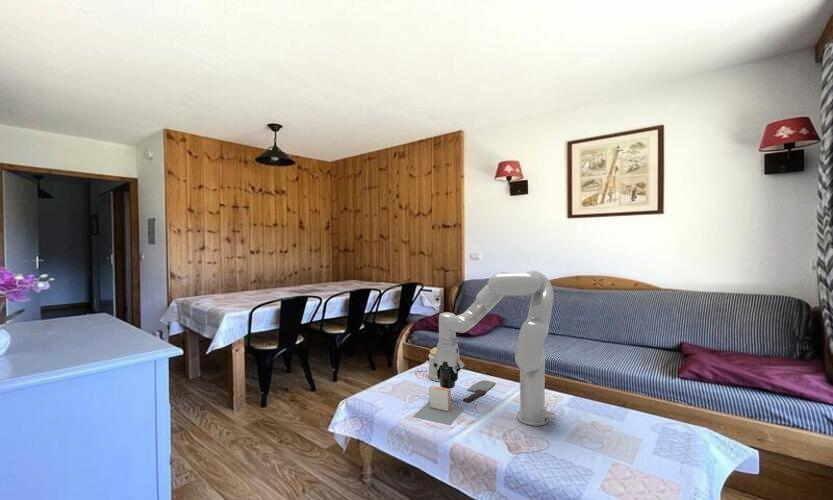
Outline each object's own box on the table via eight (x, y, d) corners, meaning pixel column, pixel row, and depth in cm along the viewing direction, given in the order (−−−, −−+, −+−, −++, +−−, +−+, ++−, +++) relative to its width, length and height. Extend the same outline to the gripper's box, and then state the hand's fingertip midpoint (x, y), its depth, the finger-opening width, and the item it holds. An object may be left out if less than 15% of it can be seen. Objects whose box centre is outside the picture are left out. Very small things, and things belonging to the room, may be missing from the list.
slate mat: (465, 409, 164) (465, 407, 164) (450, 426, 149) (450, 425, 149) (429, 401, 172) (429, 400, 172) (412, 418, 157) (412, 416, 157)
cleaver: (473, 406, 167) (473, 401, 167) (453, 401, 173) (453, 396, 173) (497, 384, 192) (497, 380, 192) (479, 380, 197) (479, 376, 197)
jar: (453, 373, 207) (453, 341, 206) (452, 382, 194) (452, 348, 193) (430, 372, 209) (429, 341, 208) (427, 381, 196) (427, 347, 195)
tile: (450, 409, 162) (450, 389, 162) (448, 411, 160) (448, 390, 160) (431, 405, 166) (431, 385, 166) (429, 407, 164) (429, 387, 164)
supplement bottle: (445, 382, 176) (445, 356, 176) (457, 385, 172) (457, 359, 171) (436, 386, 171) (436, 360, 170) (449, 390, 166) (449, 363, 166)
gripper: (468, 340, 170) (468, 380, 170) (433, 336, 178) (433, 373, 178) (462, 345, 163) (462, 386, 164) (426, 340, 171) (426, 379, 172)
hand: (447, 379), depth 171 cm, fingers closed on supplement bottle, 6 cm apart
